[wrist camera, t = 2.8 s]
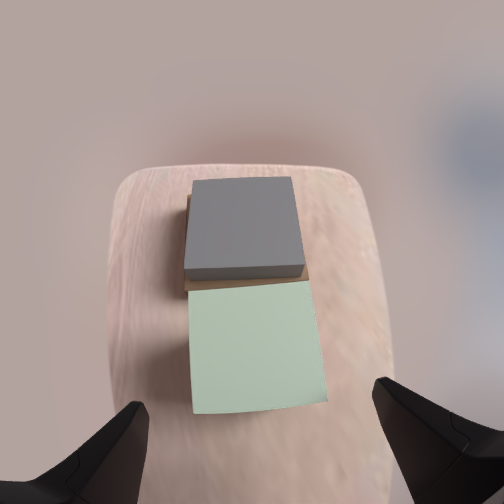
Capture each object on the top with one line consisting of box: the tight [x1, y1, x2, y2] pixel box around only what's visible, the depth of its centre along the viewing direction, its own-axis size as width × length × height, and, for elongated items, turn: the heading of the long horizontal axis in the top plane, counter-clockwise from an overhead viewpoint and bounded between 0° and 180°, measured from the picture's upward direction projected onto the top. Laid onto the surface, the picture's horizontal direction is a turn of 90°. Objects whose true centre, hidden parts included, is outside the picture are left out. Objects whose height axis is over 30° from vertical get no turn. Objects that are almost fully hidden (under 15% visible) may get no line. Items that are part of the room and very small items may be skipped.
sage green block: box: [188, 281, 328, 414], centre depth 15 cm, size 6×6×8 cm
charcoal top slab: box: [184, 177, 305, 281], centre depth 21 cm, size 8×8×2 cm
